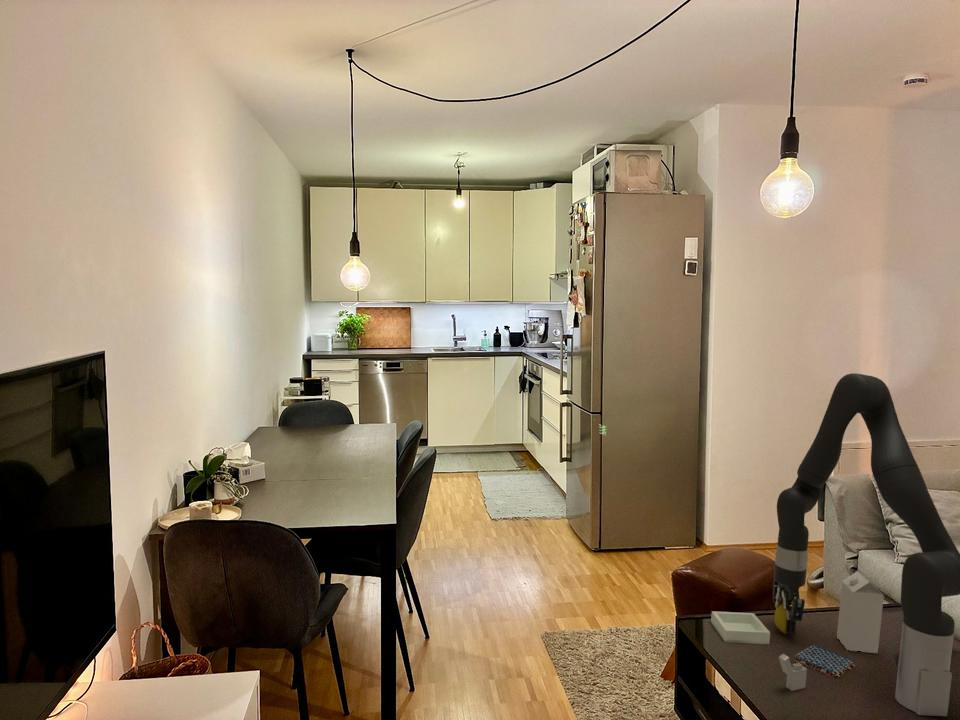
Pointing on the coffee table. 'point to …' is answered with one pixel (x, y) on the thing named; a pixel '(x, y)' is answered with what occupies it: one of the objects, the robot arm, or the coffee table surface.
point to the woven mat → (824, 660)
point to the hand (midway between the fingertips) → (784, 627)
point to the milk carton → (860, 613)
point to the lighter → (793, 673)
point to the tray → (740, 627)
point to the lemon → (781, 618)
